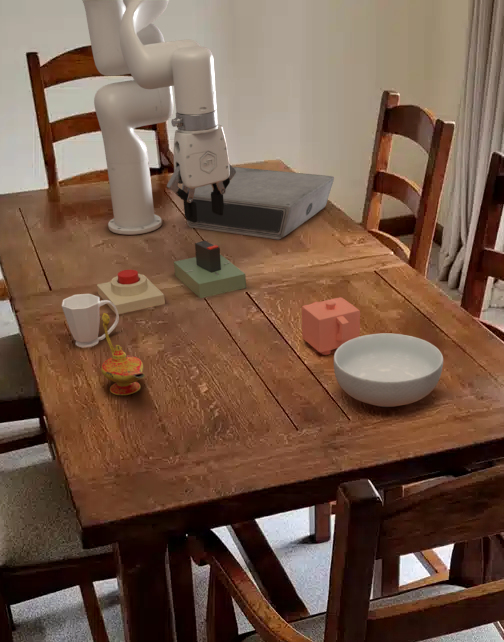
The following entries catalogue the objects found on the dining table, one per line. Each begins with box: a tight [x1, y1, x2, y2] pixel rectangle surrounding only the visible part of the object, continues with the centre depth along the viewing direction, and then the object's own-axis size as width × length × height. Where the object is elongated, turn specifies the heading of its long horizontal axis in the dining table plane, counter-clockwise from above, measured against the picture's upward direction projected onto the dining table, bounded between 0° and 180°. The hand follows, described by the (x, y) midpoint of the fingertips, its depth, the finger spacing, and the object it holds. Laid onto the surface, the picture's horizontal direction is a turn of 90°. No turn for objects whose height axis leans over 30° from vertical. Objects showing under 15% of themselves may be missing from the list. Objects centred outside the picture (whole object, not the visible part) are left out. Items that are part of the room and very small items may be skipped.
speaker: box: [186, 166, 335, 241], centre depth 223 cm, size 24×8×30 cm
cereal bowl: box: [333, 332, 444, 408], centre depth 149 cm, size 17×17×7 cm
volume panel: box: [173, 253, 247, 299], centre depth 193 cm, size 14×10×3 cm
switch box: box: [96, 273, 166, 315], centre depth 187 cm, size 12×10×4 cm
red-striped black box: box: [194, 240, 221, 272], centre depth 191 cm, size 6×2×5 cm, turn 36°
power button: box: [117, 269, 139, 284], centre depth 186 cm, size 4×4×2 cm
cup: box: [61, 293, 120, 348], centre depth 171 cm, size 7×10×8 cm
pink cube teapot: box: [301, 296, 361, 356], centre depth 165 cm, size 8×12×8 cm, turn 24°
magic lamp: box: [100, 312, 146, 396], centre depth 153 cm, size 7×18×11 cm, turn 25°
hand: (204, 216), depth 186 cm, fingers open, 5 cm apart
